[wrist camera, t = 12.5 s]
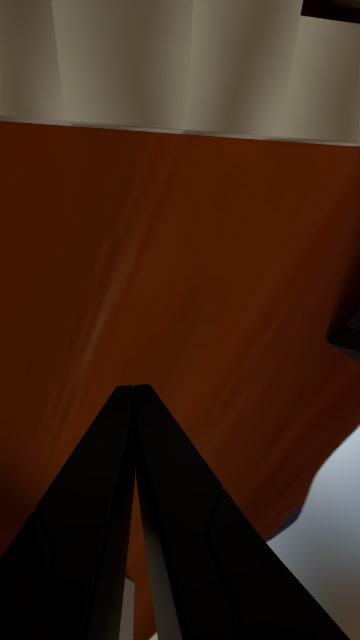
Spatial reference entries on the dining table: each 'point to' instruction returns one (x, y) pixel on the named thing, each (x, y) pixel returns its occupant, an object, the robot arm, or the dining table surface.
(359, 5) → the oak peg
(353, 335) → the phone stand
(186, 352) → the dining table surface
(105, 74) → the birch board
